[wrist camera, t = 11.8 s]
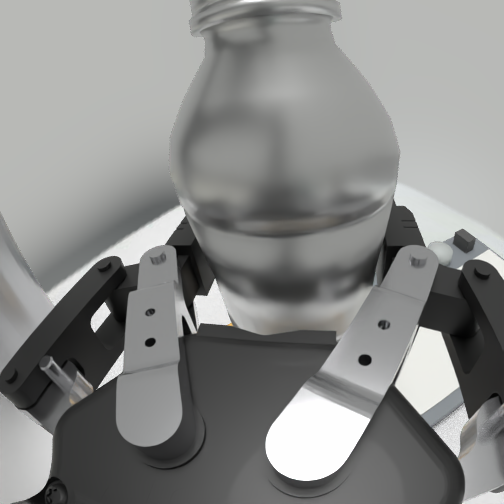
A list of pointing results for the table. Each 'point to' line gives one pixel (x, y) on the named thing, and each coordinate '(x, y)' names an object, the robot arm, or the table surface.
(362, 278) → the plastic bottle
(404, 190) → the table surface
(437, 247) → the board
